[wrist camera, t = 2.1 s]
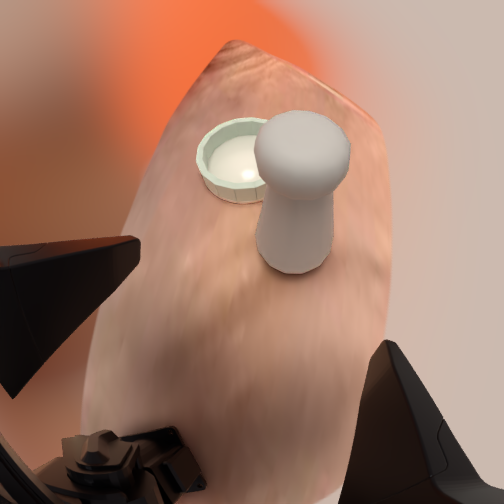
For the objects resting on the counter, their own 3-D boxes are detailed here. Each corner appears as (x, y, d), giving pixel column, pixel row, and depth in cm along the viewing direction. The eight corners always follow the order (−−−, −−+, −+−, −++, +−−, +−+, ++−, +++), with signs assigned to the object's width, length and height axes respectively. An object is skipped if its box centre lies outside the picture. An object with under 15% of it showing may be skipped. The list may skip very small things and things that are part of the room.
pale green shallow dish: (221, 218, 24) (215, 204, 21) (192, 154, 27) (185, 138, 25) (309, 181, 24) (311, 165, 22) (267, 124, 27) (266, 108, 25)
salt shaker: (308, 206, 23) (326, 83, 11) (339, 263, 21) (399, 162, 9) (246, 232, 23) (215, 113, 11) (274, 293, 21) (269, 212, 9)
